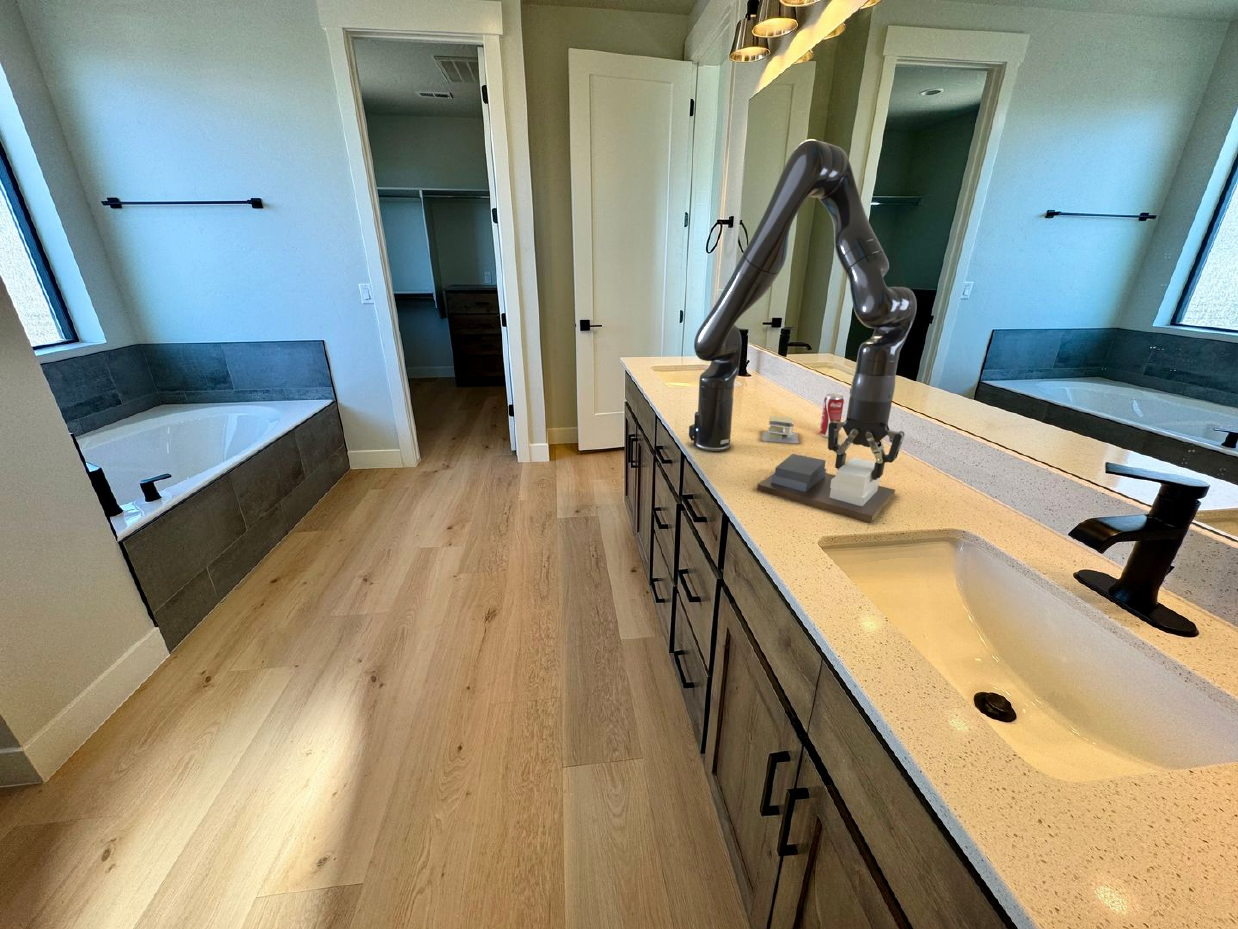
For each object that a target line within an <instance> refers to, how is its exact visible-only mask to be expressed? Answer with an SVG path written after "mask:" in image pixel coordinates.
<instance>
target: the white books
mask: <svg viewBox="0 0 1238 929" xmlns="http://www.w3.org/2000/svg"><path fill="white" fill-rule="evenodd" d="M880 481H881V477H880V478H878V479H877V480H873V479H872V480H871V481H870V482H869V483H868V484H867V485H866V486H865V487H864V488H863V487H859V486H855V485H851V484H846V483H842V482H838V481H835V477H834V478H833V479H831V486H830V488H832V489H831V492H830V498H833V499H836V500H840V501H844V502H847V503H851V504H855V505H859V506H863V505H864V504H865V503H866V502H867V501H868V500H869V499H870V498H871V497H872V496H873V495H874V494H875V493H876V491H877V490H878V486H880Z"/></svg>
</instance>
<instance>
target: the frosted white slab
mask: <svg viewBox="0 0 1238 929" xmlns="http://www.w3.org/2000/svg"><path fill="white" fill-rule="evenodd" d="M876 462H877V461H872V460H867V459H862V458H858V457H851V458H850V459H849V460H847V461H846V462H845V464H844V465H843V466H842V467H841V468H839V469H838V470H837V469H836V471H835V475H836V477H835V481H838V482H842V483H846V484H851V485H855V486H859V487H863V488H864V487H865V486H866V485H867V484H868V483H869V482H870V481H871V480H872V476H873V471H874V466H875V463H876Z"/></svg>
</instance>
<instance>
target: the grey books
mask: <svg viewBox="0 0 1238 929" xmlns="http://www.w3.org/2000/svg"><path fill="white" fill-rule="evenodd" d="M826 463H827V460H825V459H820V458H815V457H811V456H805V455H800V454H796V453H791V454H790V455H789V456H788V457H787V458H785V459H784V460H782V461H781V462H780V463H779V464H778V465H776V466H775V469H774V472H773V473H774V474H773V473H772V474H771V475H772V478H771V483H774V484H778V485H781V486H785V487H789V488H792V489H796V490H800V491H803V492H807V491H808V490H809V489H811V488H812V487H813V486H814V485H816V484H817V483H818V482H819V481H821V480H822V479H823V478H824V477H825V475H826V473H827V468H826Z"/></svg>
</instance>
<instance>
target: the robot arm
mask: <svg viewBox="0 0 1238 929" xmlns="http://www.w3.org/2000/svg"><path fill="white" fill-rule="evenodd" d="M808 197H809V198H813V199H818V200H819V201H820V202H821V203H822V205H823V206H824V207H825V209H826V210H827V212H828V214H829V216H830V218H831V222H832V226H833V227H832V228H833V244H834V250H835V254H836V257H837V259H838V261H839V264H840V265H841V267H842V270H843V272H844V274H845V276H846V278H847V280H848V281H849V290H850V295H851V302H852V308H853V311H854V313H855V316H856V318H857V320H859V322H860V323H861V324H862V325H863V326H865V327H866V328H870V329H874V331H873V334H872V336H871V337H870V338H869V339H867V340H865V341H863V342H862V343H861V344H860V345H859V348H858V351H857V358H856V363H855V371H854V375H853V377H852V381H851V385H850V389H849V399H848V405H847V411H846V418H845V420H844V421H841V422H838V421H837V420H834V421H832V422H831V423H829V426H828V437H827V449H828V450H829V451H833V452H834V453H835V454H836V457H835V463H834V468H835V469H836V471H837V470H838V469H839V468H841V467H842V466H843V465H844V464H845V463H846V458H847V453H846V452H847V450H848V449H849V448H850V447H851V445H855V446H863V447H866V448H870V450H871V453H872V454H873V455H874V459H875V462H876V463H875V466H874V471H873V476H872V479H873V480H877V479H878V478H880V479H881V477H882V476H883V475H884V470H885V464H886V463H893V462H894V461H895V460H896V459H897V458H898V456H899V452H900V449H901V447H902V444H903V441H904V438H905V432H904V431H902V430H900V431H896V430H891V429H890V427H889V420H890V414H891V409H892V404H893V398H894V394H895V388H896V376H897V369H898V364H899V359H900V352H901V350H902V348H903V346H904V344H905V342H906V340H907V338H908V335H909V333H910V330H911V328H912V326H913V324H914V321H915V318H916V314H917V307H918V306H917V305H918V304H917V298H916V296H915V293H914V292H913V290H912V289H911V288H908V287H906V286H887V285H886V283H885V280H884V277H885V276H886V275H887V273H888V271H889V269H890V263H889V259H888V257H887V255H886V253H885V251H884V249H883V247H882V245H881V243H880V241H879V239H878V238H877V235H876V234H875V232H874V230H873V227H872V226H871V224H870V220H869V218H868V216H867V214H866V210H865V208H864V205H863V203H862V199H861V197H860V192H859V189H858V186H857V183H856V180H855V176H854V172H853V168H852V165H851V162H850V158H849V157H848V154H847V152H846V151H845V150H844V149H843V148H841V147H840V146H838V145H835V144H832V143H829V142H825V141H822V140H818V139H807V140H804V141H803V142H801V143H800V144H799V145H797V147H796V148H795V149H794V150H793V152H792V153H791V154H790V156H789V158H788V159H787V161H786V163H785V166H784V167H783V170H782V172H781V175H780V177H779V179H778V182H777V183H776V186H775V188H774V191H773V193H772V195H771V198H770V200H769V203H768V204H767V206H766V209H765V211H764V213H763V215H762V217H761V219H760V221H759V223H758V225H757V227H756V229H755V230H754V233H753V235H752V237H751V239H750V240H749V242H748V244H747V246H746V247H745V249H744V251H743V253H742V255H741V256H740V258H739V260H738V262H737V264H736V265H735V268H734V270H733V271H732V274H731V276H730V278H729V279H728V281H727V283H726V285H725V286H724V288H723V290H722V292H721V294H720V296H719V298H718V299H717V301H716V302H715V304H714V306H713V307H712V309H711V310H710V312H709V314H707V316H706V318H705V319H704V321H703V322H702V324H701V325H700V327H699V328H698V330H697V332H696V334H695V338H694V342H693V343H694V344H693V349H694V353H695V355H696V357H697V358H698V359H700V360H701V361H704V362H710V364H709V366H708V367H707V369H705V370H704V371H703V372H702V373H701V374H700V375H699V378H698V380H699V381H698V382H699V383H698V400H697V402H698V403H697V404H698V405H697V411H695V412H694V422H693V424H691V425H689V426H688V438H689V439H690V441H691V442H693V444H692V446H693V447H694V446H695V447H696V448H697V449H699V450H702V451H707V452H725V451H727V450H729V449H731V436H732V424H733V409H734V408H733V407H734V395H735V394H734V393H735V381H736V379H737V377H738V375H739V369H740V363H741V354H742V335H741V332H740V329H739V327H738V326H737V325H736V323H737V322H738V320H739V319H740V318H741V317H742V316H743V315H744V314H745V313H746V312H747V311H749V310H750V309H751V308H752V307H753V306H754V305H755V304H756V303H757V302H758V301H759V300H761V298H762V297H764V296H765V294H766V293H767V292H768V291H769V289H770V288H771V287H772V286H773V284H774V282H775V281H776V279H777V277H778V276H779V274H780V273H781V271H782V269H783V268H784V265H785V262H786V260H787V254H788V249H789V248H788V246H789V238H790V237H789V236H790V231H791V228H792V225H793V222H794V220H795V218H796V216H797V214H798V212H799V211H800V209H801V207H802V206H803V204H804V202H805V201H806V200H807V199H808ZM842 429H843V431H844V433H845V434H846V436H847V437H846V438H845V439H844V440H843V442H842V443H841V444H839V435H838V432H839V433H840V431H842ZM886 436H888V439H889V440H888V441H889V442H890V443H891V445H890V448H889V452H888V454H886V451H885V449H884V447H885V446H884V443H883V441H882V440H883V439H884V438H886Z"/></svg>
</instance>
